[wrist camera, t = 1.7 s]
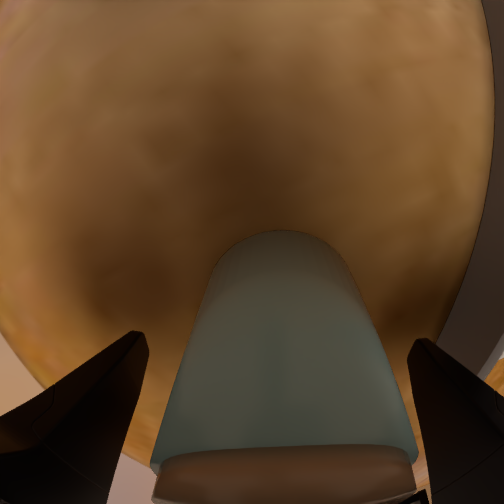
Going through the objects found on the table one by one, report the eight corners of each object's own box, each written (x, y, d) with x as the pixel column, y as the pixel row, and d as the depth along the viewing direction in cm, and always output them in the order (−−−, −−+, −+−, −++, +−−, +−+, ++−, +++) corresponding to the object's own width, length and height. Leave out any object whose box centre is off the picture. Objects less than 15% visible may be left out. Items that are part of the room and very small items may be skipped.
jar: (337, 349, 12) (367, 519, 4) (213, 346, 12) (175, 519, 5) (364, 234, 9) (487, 445, 2) (204, 227, 10) (87, 456, 2)
